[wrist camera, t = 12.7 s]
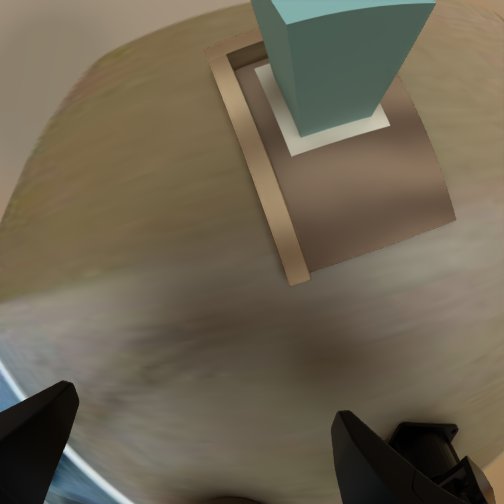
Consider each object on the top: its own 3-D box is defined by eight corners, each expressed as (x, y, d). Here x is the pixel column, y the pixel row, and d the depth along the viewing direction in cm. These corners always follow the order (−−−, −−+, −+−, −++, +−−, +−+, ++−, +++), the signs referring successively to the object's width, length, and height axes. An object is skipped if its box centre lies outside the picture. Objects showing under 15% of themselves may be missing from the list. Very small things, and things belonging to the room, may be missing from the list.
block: (371, 116, 17) (436, 3, 5) (300, 137, 18) (286, 24, 6) (340, 55, 17) (356, -76, 5) (273, 75, 18) (230, -56, 6)
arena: (452, 220, 17) (473, 220, 14) (292, 276, 19) (290, 286, 17) (363, 24, 16) (369, 2, 13) (216, 68, 19) (203, 49, 16)
